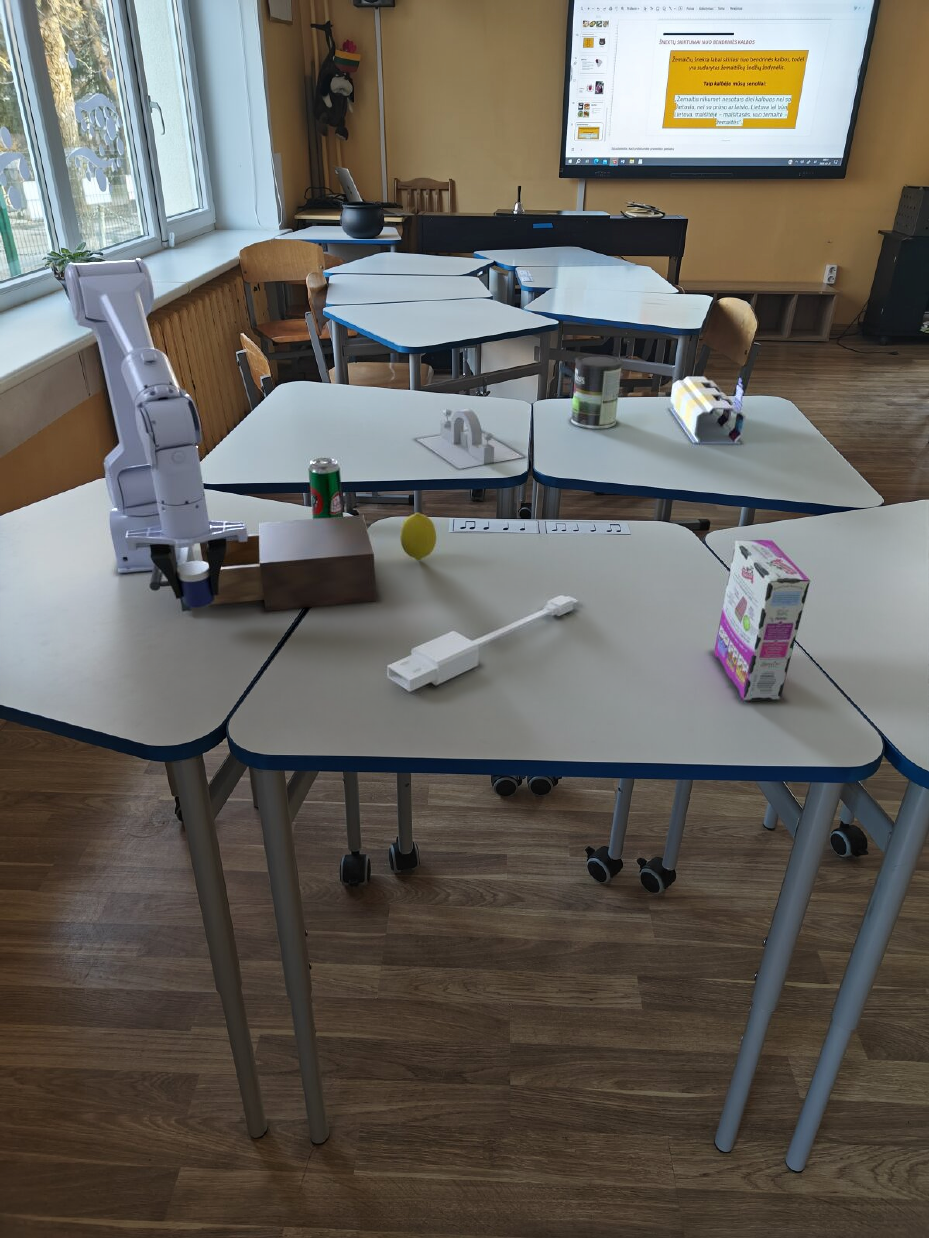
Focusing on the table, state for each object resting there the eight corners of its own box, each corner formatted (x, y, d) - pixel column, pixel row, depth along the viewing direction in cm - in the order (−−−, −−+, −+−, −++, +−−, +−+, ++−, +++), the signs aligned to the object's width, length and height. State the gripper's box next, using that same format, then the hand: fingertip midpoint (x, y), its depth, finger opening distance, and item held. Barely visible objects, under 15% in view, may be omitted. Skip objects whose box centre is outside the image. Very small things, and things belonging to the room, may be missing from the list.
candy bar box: (783, 701, 103) (813, 580, 94) (743, 702, 102) (769, 581, 94) (749, 651, 112) (773, 537, 104) (712, 652, 112) (733, 538, 104)
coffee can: (576, 429, 191) (581, 366, 184) (566, 416, 200) (571, 354, 193) (621, 428, 192) (628, 365, 185) (609, 414, 201) (615, 353, 194)
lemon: (423, 571, 131) (422, 523, 127) (394, 562, 134) (392, 515, 130) (443, 557, 135) (442, 511, 131) (414, 549, 138) (413, 503, 134)
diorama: (740, 443, 184) (751, 383, 177) (693, 443, 184) (702, 382, 177) (712, 409, 205) (720, 354, 199) (669, 409, 205) (676, 353, 199)
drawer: (151, 614, 117) (143, 577, 114) (159, 573, 128) (152, 538, 125) (288, 601, 121) (284, 565, 118) (285, 562, 131) (282, 528, 128)
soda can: (338, 537, 141) (333, 468, 135) (309, 534, 142) (303, 466, 136) (348, 525, 146) (343, 458, 140) (319, 522, 146) (314, 455, 140)
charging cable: (585, 616, 122) (588, 595, 120) (411, 699, 102) (412, 675, 100) (559, 603, 125) (561, 582, 123) (385, 681, 105) (385, 658, 103)
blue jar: (183, 594, 114) (177, 562, 112) (215, 591, 115) (210, 559, 112) (181, 609, 110) (175, 576, 108) (214, 606, 111) (209, 573, 109)
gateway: (493, 461, 173) (494, 423, 169) (483, 463, 172) (484, 424, 168) (449, 434, 188) (449, 397, 184) (440, 435, 187) (440, 399, 183)
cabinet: (265, 611, 120) (259, 563, 116) (264, 568, 132) (258, 523, 128) (376, 600, 123) (373, 553, 119) (365, 559, 135) (363, 515, 131)
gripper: (114, 514, 100) (136, 613, 107) (240, 504, 103) (253, 602, 110) (122, 491, 106) (142, 587, 113) (241, 483, 109) (253, 577, 116)
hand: (197, 593), depth 112 cm, fingers closed on blue jar, 4 cm apart
